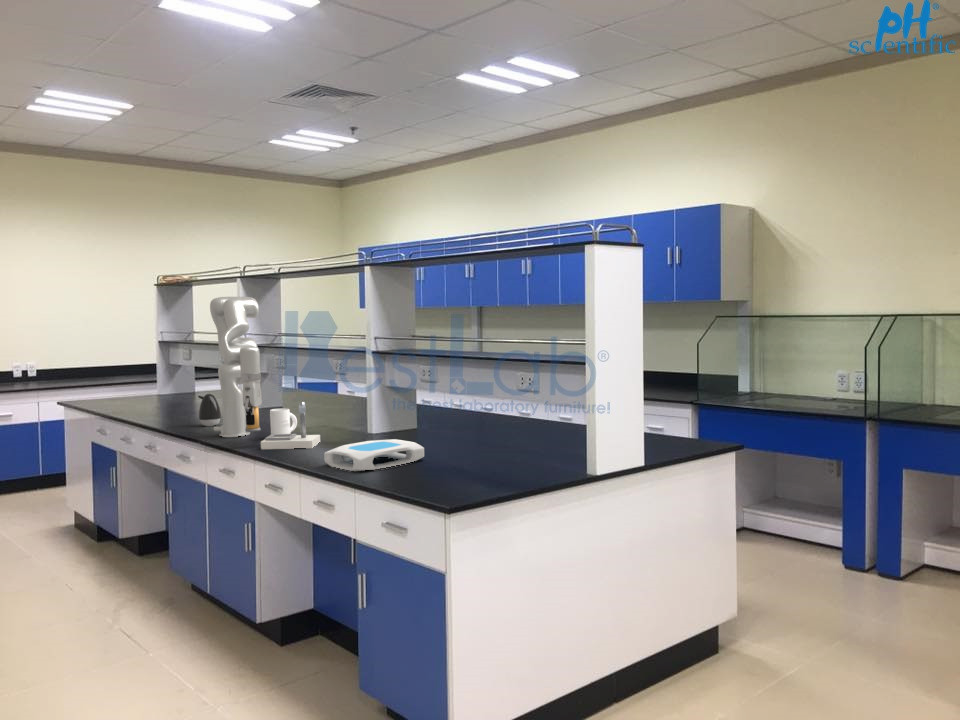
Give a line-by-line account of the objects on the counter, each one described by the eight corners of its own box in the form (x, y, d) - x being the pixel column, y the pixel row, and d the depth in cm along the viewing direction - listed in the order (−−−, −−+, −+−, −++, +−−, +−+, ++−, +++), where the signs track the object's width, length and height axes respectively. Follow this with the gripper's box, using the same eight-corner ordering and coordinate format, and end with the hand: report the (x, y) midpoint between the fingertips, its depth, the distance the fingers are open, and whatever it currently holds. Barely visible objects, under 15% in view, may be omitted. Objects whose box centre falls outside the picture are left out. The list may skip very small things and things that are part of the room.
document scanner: (323, 466, 270) (323, 448, 269) (388, 454, 290) (387, 437, 289) (360, 474, 255) (359, 455, 255) (425, 461, 275) (425, 443, 274)
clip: (306, 442, 298) (305, 405, 297) (300, 442, 297) (298, 406, 296) (306, 436, 312) (305, 401, 311) (300, 436, 311) (299, 401, 310)
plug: (243, 432, 308) (242, 406, 307) (248, 429, 313) (246, 404, 313) (258, 431, 307) (257, 406, 307) (262, 429, 313) (261, 404, 313)
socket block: (260, 449, 304) (260, 439, 304) (271, 443, 318) (270, 433, 318) (312, 448, 304) (312, 438, 303) (320, 442, 318) (319, 432, 317)
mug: (302, 436, 333) (301, 408, 332) (277, 440, 325) (276, 411, 324) (292, 434, 339) (291, 406, 338) (267, 438, 331) (266, 409, 330)
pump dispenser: (204, 424, 377) (203, 392, 376) (225, 424, 376) (223, 392, 375) (194, 427, 367) (192, 395, 366) (215, 427, 366) (213, 394, 365)
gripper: (253, 379, 301) (255, 426, 302) (266, 376, 318) (268, 420, 319) (234, 380, 301) (236, 427, 302) (247, 376, 318) (249, 421, 319)
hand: (252, 423), depth 310 cm, fingers closed on plug, 4 cm apart
